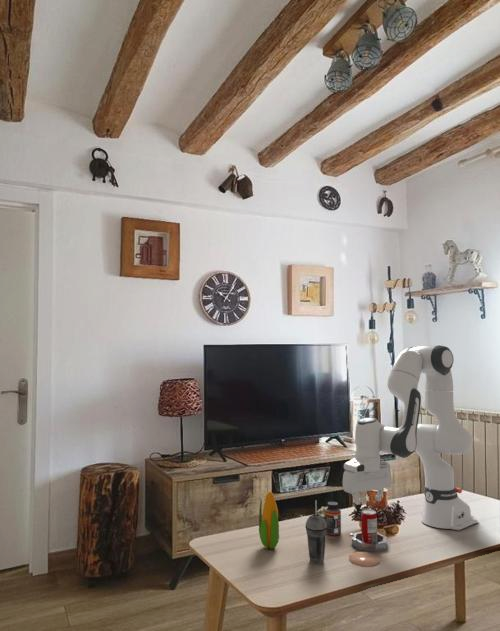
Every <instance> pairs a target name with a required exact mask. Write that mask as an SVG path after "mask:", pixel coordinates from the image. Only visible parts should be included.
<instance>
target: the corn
mask: <svg viewBox="0 0 500 631" xmlns="http://www.w3.org/2000/svg"><path fill="white" fill-rule="evenodd" d="M262 501H263V500H262V499H260V503H259V515H258V533H259V539H260V542H261V544H262V545H263V547H265V549H268V550H273V549H275V548H276V547H277V545H278V543H279V539H280V529H279V528H280V525H279V509H278V506H277V503H276V498H275V495H274V494H273V492H272V491H268V492H267V494H266V495H265V500H264V504H263V503H262ZM262 504H263V509H262ZM262 510H263V511H262Z"/></svg>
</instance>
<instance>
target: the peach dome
mask: <svg viewBox="0 0 500 631" xmlns="http://www.w3.org/2000/svg"><path fill="white" fill-rule="evenodd" d="M348 561H349V562H351V563H352V564H354V565H357V566H361V567H374V566H377V565H378V564H380V557H379V556H378V555H376V554H374V553H373V552H372V553H371V552H369V551H357V552H352V553H350V554H349V556H348Z"/></svg>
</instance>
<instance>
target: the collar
mask: <svg viewBox="0 0 500 631" xmlns="http://www.w3.org/2000/svg"><path fill="white" fill-rule="evenodd" d="M349 536H350V537H351V546H352V547H354V548H356V549H358V550H360V551H361V552H369V553H371V552H372V553H377V552H381V551H385V550H387V547H388V545H387V544H388V537H387V536H386V535H383V534H382V533H380V532H378V531H377V543H367V542H362V531H358V532H353V533H349Z"/></svg>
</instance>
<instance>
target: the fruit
mask: <svg viewBox="0 0 500 631" xmlns="http://www.w3.org/2000/svg"><path fill="white" fill-rule="evenodd" d="M326 508H328V505H326V506H321V508H319V509H317V514H319V515H321V516H322V517H323V518H324V519H325V510H326Z"/></svg>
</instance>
